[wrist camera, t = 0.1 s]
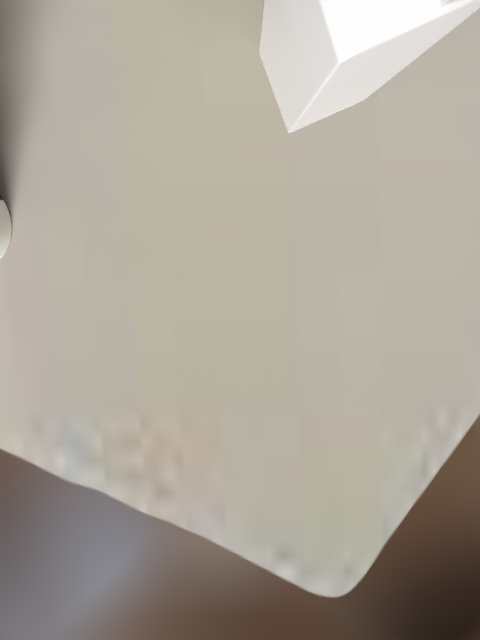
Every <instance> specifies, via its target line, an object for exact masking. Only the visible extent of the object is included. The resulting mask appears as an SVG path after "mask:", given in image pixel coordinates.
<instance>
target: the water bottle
mask: <svg viewBox="0 0 480 640" xmlns="http://www.w3.org/2000/svg"><path fill="white" fill-rule="evenodd" d="M11 234H12V224H11V218H10V214H9V211H8V208H7V206H6V204H5V202H4V201H3V199H2V197H1V196H0V259H1V258H2V256H3V255H4V254H5V252H6V251H7V249H8V246H9V244H10V240H11Z"/></svg>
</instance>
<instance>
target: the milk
mask: <svg viewBox="0 0 480 640" xmlns="http://www.w3.org/2000/svg"><path fill="white" fill-rule="evenodd" d="M479 8H480V0H265V1H264V11H263V20H262V30H261V39H260V49H259V53H260V56H261V59H262V62H263V64H264V67H265V70H266V73H267V75H268V78H269V81H270V84H271V86H272V89H273V92H274V95H275V97H276V100H277V103H278V106H279V108H280V111H281V114H282V117H283V119H284V122H285V125H286V128H287V130H288V133H291V132H293V131H296V130H298V129H300V128H302V127H305V126H307V125H309V124H311V123H314V122H316V121H318V120H320V119H323V118H325V117H327V116H329V115H332V114H334V113H336V112H338V111H341V110H343V109H345V108H347V107H350V106H352V105H354V104H356V103H359V102H361V101H363V100H364V99H366V98H367V97H368V96H369V95H371V94H372V93H373V92H374V91H376V90H377V89H378V88H380V87H381V86H382V85H383V84H385V83H386V82H387V81H388V80H390V79H391V78H392V77H393V76H395V75H396V74H397V73H398V72H400V71H401V70H402V69H403V68H405V67H406V66H407V65H408V64H410V63H411V62H412V61H413V60H415V59H416V58H417V57H418V56H420V55H421V54H422V53H423V52H425V51H426V50H427V49H428V48H430V47H431V46H432V45H434V44H435V43H436V42H437V41H439V40H440V39H441V38H442V37H444V36H445V35H446V34H447V33H449V32H450V31H451V30H452V29H454V28H455V27H456V26H457V25H459V24H460V23H461V22H462V21H464V20H465V19H466V18H467V17H469V16H470V15H471V14H472V13H474V12H475V11H476V10H477V9H479Z"/></svg>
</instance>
